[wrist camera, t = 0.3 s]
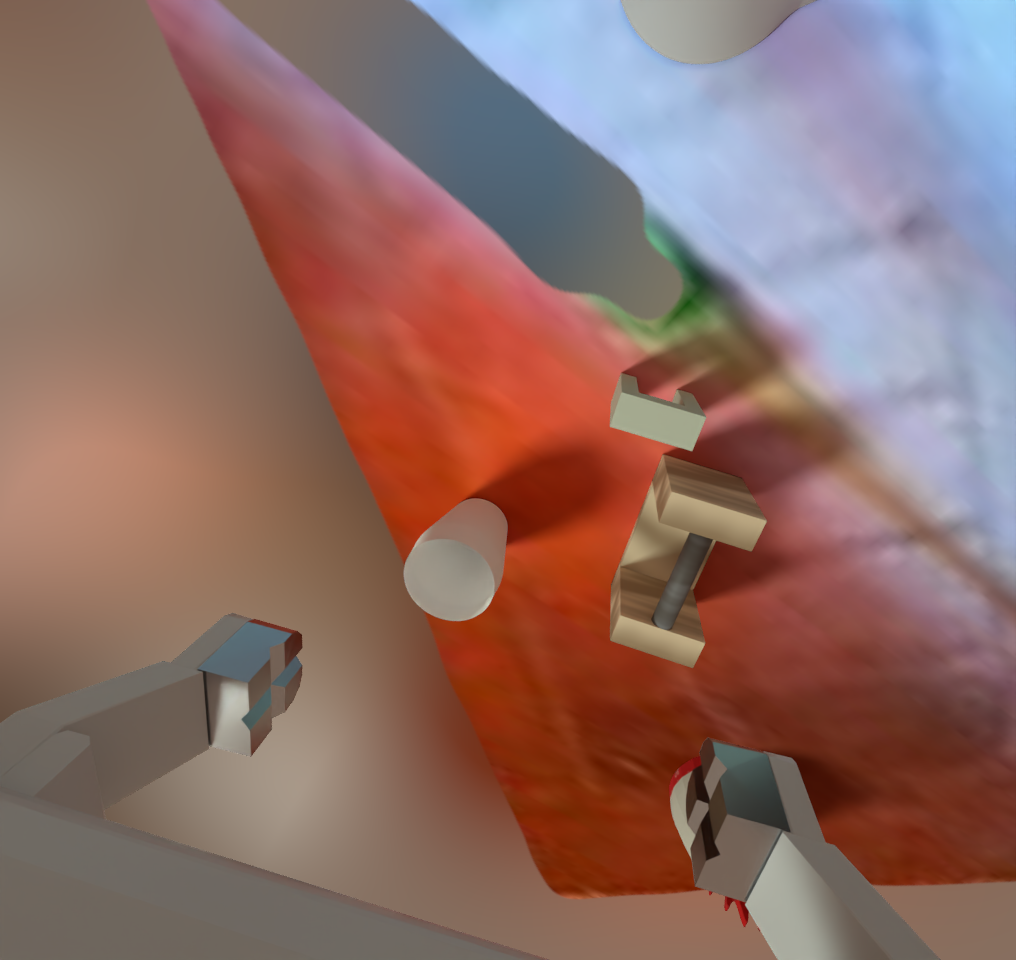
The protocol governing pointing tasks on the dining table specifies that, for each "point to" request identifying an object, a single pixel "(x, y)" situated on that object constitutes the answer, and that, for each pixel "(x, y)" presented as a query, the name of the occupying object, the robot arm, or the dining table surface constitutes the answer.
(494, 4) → the dining table surface
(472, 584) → the cup
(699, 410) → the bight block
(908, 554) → the dining table surface
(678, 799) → the kitchen timer
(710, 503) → the wooden frame with rod
